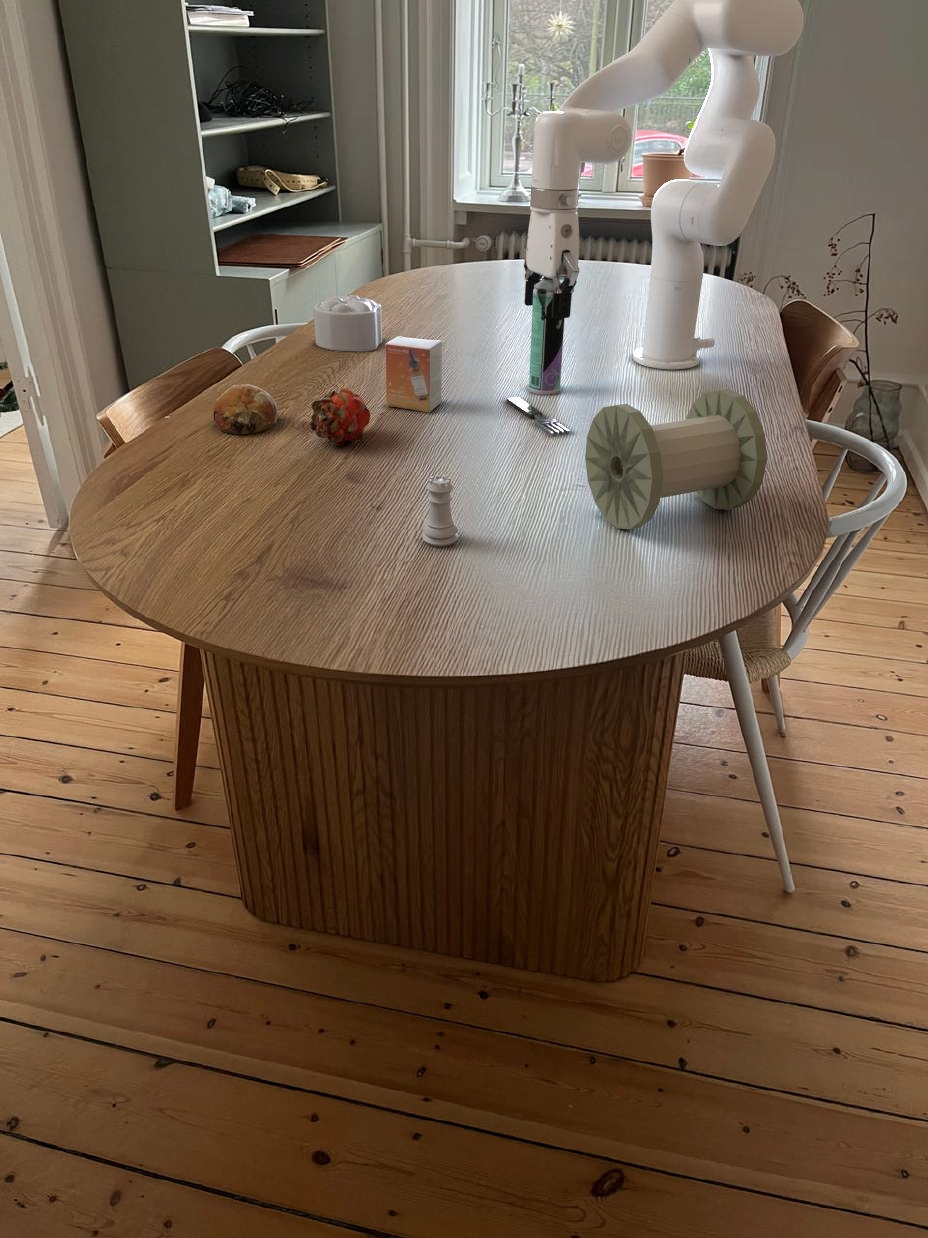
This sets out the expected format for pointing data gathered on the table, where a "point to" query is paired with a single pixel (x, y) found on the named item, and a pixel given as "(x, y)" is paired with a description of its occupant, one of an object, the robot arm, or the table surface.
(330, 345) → the lumpy-topped squat cylinder
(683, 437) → the spool
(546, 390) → the spray can
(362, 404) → the dragon fruit
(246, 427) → the bread roll
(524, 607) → the table surface
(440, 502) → the rook chess piece
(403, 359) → the small box
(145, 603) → the table surface
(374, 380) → the table surface
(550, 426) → the fork
